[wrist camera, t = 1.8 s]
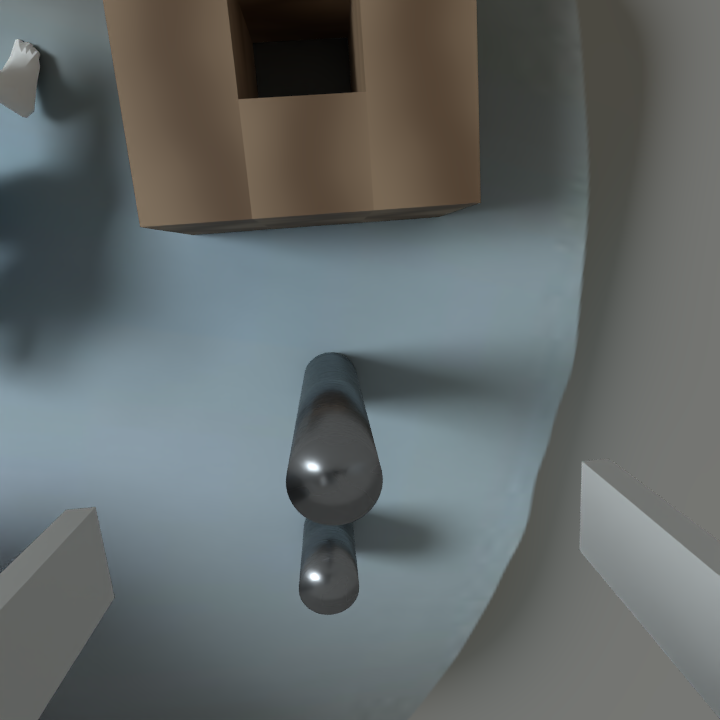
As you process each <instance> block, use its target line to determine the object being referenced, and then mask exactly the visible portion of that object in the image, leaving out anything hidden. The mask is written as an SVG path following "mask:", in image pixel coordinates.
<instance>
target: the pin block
mask: <svg viewBox="0 0 720 720" xmlns="http://www.w3.org/2000/svg"><path fill="white" fill-rule="evenodd" d="M103 4H104V10H105V16H106V22H107V28H108V34H109V40H110V46H111V52H112V59H113V65H114V71H115V77H116V83H117V89H118V95H119V101H120V107H121V113H122V119H123V125H124V131H125V138H126V144H127V150H128V156H129V162H130V168H131V174H132V180H133V186H134V192H135V198H136V204H137V210H138V217H139V223H140V227H143V228H150V229H156V230H163V231H170V232H177V233H183V234H190V235H198V234H211V233H225V232H239V231H253V230H266V229H280V228H294V227H307V226H321V225H335V224H348V223H362V222H376V221H390V220H403V219H417V218H431V217H439V216H442V215H445V214H448V213H451V212H454V211H457V210H460V209H463V208H466V207H469V206H472V205H475V204H478V203H481V196H480V148H479V99H478V51H477V3H476V0H103ZM334 38H347V42H348V56H349V70H350V84H351V93H336V94H319V95H302V96H285V97H269V98H259V97H258V88H257V79H256V70H255V61H254V51H253V43H259V42H278V41H297V40H315V39H334Z"/></svg>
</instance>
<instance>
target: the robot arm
mask: <svg viewBox="0 0 720 720" xmlns="http://www.w3.org/2000/svg"><path fill="white" fill-rule="evenodd" d="M581 477H582V478H581V512H580V514H581V515H580V552H581V553H582V554H583V555H584V556H585V558H586V559H587V560H588V561H589V562H590V564H591V565H592V566H593V567H594V568H595V570H596V571H597V572H598V573H599V574H600V576H601V577H602V578H603V579H604V580H605V582H606V583H607V584H608V585H609V586H610V588H611V589H612V590H613V591H614V592H615V594H616V595H617V596H618V597H619V598H620V600H621V601H622V602H623V603H624V604H625V606H626V607H627V608H628V609H629V610H630V612H631V613H632V614H633V615H634V616H635V618H636V619H637V620H638V621H639V622H640V624H641V625H642V626H643V627H644V628H645V630H646V631H647V632H648V633H649V634H650V636H651V637H652V638H653V639H654V641H655V642H656V643H657V644H658V645H659V647H660V648H661V649H662V650H663V651H664V653H665V654H666V655H667V656H668V657H669V659H670V660H671V661H672V662H673V663H674V665H675V666H676V667H677V668H678V669H679V671H680V672H681V673H682V674H683V675H684V677H685V678H686V679H687V680H688V681H689V683H690V684H691V685H692V686H693V687H694V689H695V690H696V691H697V692H698V693H699V695H700V696H701V697H702V698H703V699H704V701H705V702H706V703H707V704H708V705H709V707H710V708H711V709H712V710H713V711H714V713H715V714H716V715H717V716H718V717H719V719H720V541H719V540H718V539H717V538H715V537H714V536H713V535H711V534H710V533H709V532H707V531H706V530H705V529H703V528H702V527H701V526H699V525H698V524H696V523H695V522H694V521H693V520H691V519H690V518H688V517H687V516H686V515H684V514H683V513H682V512H680V511H679V510H678V509H676V508H675V507H674V506H672V505H671V504H670V503H668V502H667V501H666V500H664V499H663V498H662V497H660V496H659V495H658V494H656V493H655V492H653V491H652V490H651V489H649V488H648V487H647V486H645V485H644V484H642V483H641V482H640V481H639V480H637V479H636V478H635V477H633V476H632V475H630V474H629V473H628V472H626V471H625V470H624V469H622V468H621V467H620V466H618V465H617V464H616V463H614V462H613V461H611V460H610V459H600V460H589V461H582V475H581ZM114 598H115V597H114V592H113V588H112V583H111V578H110V573H109V569H108V564H107V559H106V554H105V550H104V545H103V540H102V535H101V531H100V526H99V521H98V516H97V512H96V507H91V508H80V509H70V510H65V511H64V512H63V513H62V514H61V515H60V516H59V517H58V518H57V519H56V520H55V521H54V522H53V523H52V524H51V525H50V526H49V527H48V528H47V529H46V530H45V531H44V532H43V533H42V534H41V535H40V536H39V537H38V538H36V539H35V540H34V541H33V542H32V543H31V544H30V545H29V546H28V547H27V548H26V549H25V550H24V551H23V552H22V553H21V554H20V555H19V556H18V557H17V558H16V559H15V560H14V561H13V562H12V563H11V564H10V565H9V566H8V567H7V568H6V569H5V570H3V571H2V572H1V573H0V720H38V719H39V717H40V716H41V714H42V713H43V711H44V709H45V708H46V706H47V705H48V703H49V702H50V700H51V698H52V697H53V695H54V694H55V692H56V690H57V689H58V687H59V686H60V684H61V682H62V681H63V679H64V678H65V676H66V674H67V673H68V671H69V670H70V668H71V666H72V665H73V663H74V662H75V660H76V658H77V657H78V655H79V654H80V652H81V651H82V649H83V647H84V646H85V644H86V643H87V641H88V639H89V638H90V636H91V635H92V633H93V631H94V630H95V628H96V627H97V625H98V623H99V622H100V620H101V619H102V617H103V615H104V614H105V612H106V611H107V609H108V607H109V606H110V604H111V603H112V601H113V600H114Z"/></svg>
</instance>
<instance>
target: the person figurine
mask: <svg viewBox="0 0 720 720" xmlns="http://www.w3.org/2000/svg"><path fill="white" fill-rule="evenodd" d="M32 46H33V45H32V44H31V43H28V42H23V41H21V40H19V39H16V40H15V43H14V46H13V49H12V52H11V56H10V58H9V59H8V61H7V63H6V64H5V66H4V68H3V69H2V70H0V103H1V104H3V105H4V106H6V107H7V108H9V109H11V110H12V111H14V112H15V113H17V114H19V115H20V116H22V117H25V118H27V117H28V116H30V115H31V114H32V113H33V112H34V108H35V98H36V88H37V80H38V75H39V71H40V63H39V57H40V53H39V51H37V50H36V49H35V47H32Z"/></svg>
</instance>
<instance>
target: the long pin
mask: <svg viewBox="0 0 720 720" xmlns="http://www.w3.org/2000/svg"><path fill="white" fill-rule="evenodd" d="M382 483H383V477H382V470H381V466H380V463H379V459H378V455H377V451H376V447H375V443H374V439H373V436H372V432H371V428H370V424H369V420H368V416H367V412H366V409H365V405H364V401H363V397H362V393H361V389H360V385H359V382H358V378H357V374H356V370H355V368H354V366H353V364H352V363H351V361H350V360H349V359H347V358H346V357H345V356H343V355H341V354H338V353H323V354H320V355H318V356H316V357H315V358H314V359H312V360H311V361H310V363H309V364H308V366H307V368H306V370H305V374H304V380H303V385H302V391H301V397H300V402H299V408H298V413H297V419H296V425H295V430H294V436H293V442H292V447H291V453H290V459H289V464H288V470H287V476H286V488H287V493H288V496H289V498H290V500H291V502H292V504H293V505H294V507H295V508H296V509H297V510H298V511H299V513H301V514H302V515H303V516H304V517H306V518H308V519H309V520H311V521H313V522H316V523H319V524H323V525H332V526H333V525H343V524H347V523H351V522H353V521H356V520H358V519H359V518H361V517H363V516H364V515H365V514H367V513H368V512H369V511H370V510H371V509H372V507H373V506H374V505H375V503H376V502H377V500H378V498H379V496H380V493H381V489H382Z"/></svg>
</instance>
